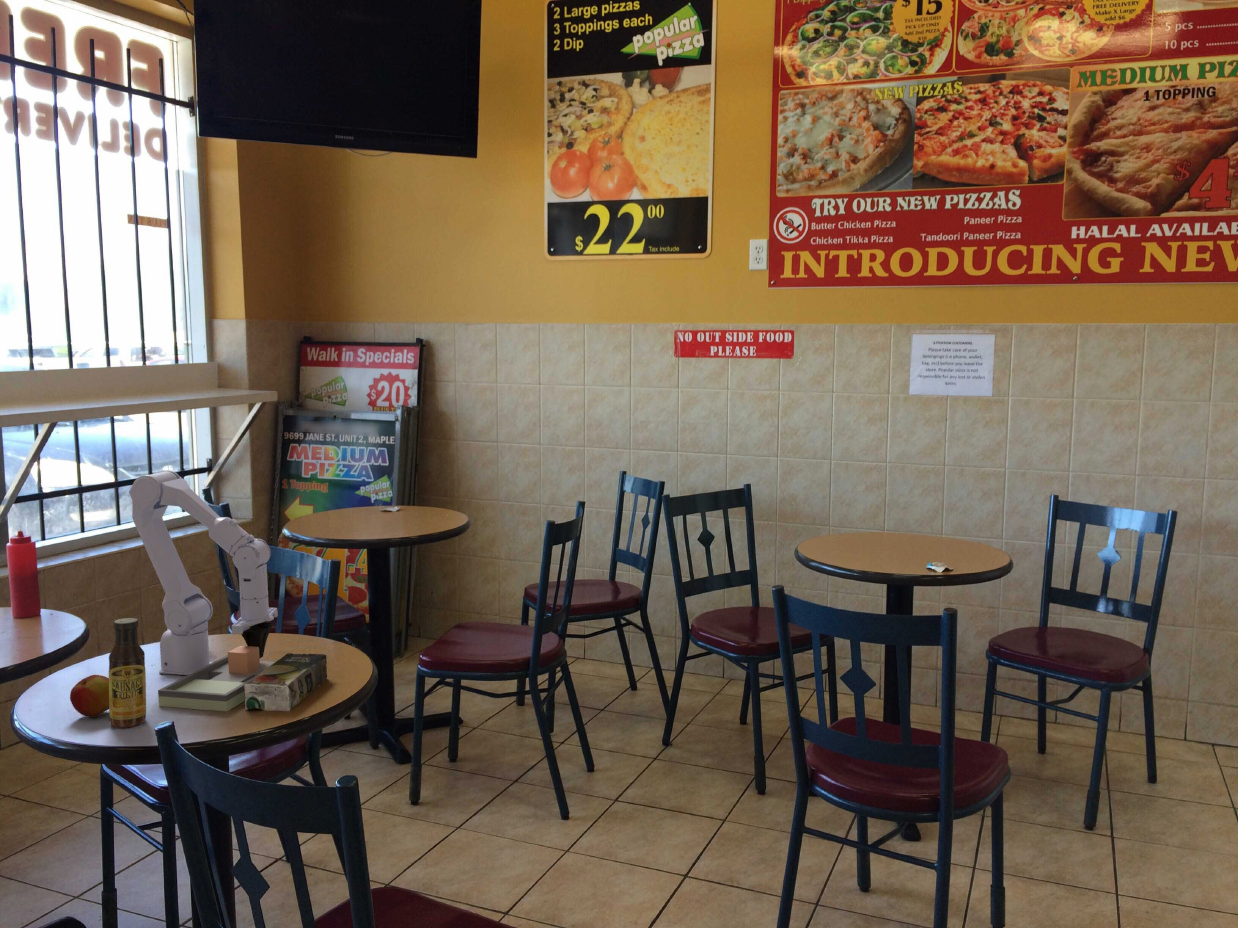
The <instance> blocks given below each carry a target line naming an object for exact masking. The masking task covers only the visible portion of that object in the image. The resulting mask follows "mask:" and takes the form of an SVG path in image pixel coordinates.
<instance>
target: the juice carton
mask: <svg viewBox="0 0 1238 928" xmlns="http://www.w3.org/2000/svg"><path fill="white" fill-rule="evenodd" d="M274 662H275V663H274V664H272V665H271V666H270V667H268V668H267V669H266V670H264V671H263V672H262V673H260V674H259V675H257V676H256V677H255V678H253V679H252V680H250V681H249V682H248V683H246V684H245V685H244V688H245V697H246V699H245V701H244V705H245V706H244V707H245V710H246V711H249V710H255V709H258V710H260V711H261V710H262V711H265V712H267V711H269V712H271V711H272V712H275V711H276V712H277V711H278V712H291V711H292V709H294V708H295V707H296V706H298V705H300V703H301V702H302V701H304V700H305V698H307V697H308V696H309V695H310V694H311V692H312V693H313V692H314V691H315V690H316V689H318V688H319V687H320V686H322V684H324V683H325V682H326V681H327V680H328V670H327V669H328V667H327V655H326V654H323V653H307V654H306V653H291V652H288V653H286V654H284V655H283V656H282V657H281V658H280V659H278V660H276V661H274ZM324 681H325V682H324ZM319 685H320V686H319ZM317 687H318V688H317ZM306 696H307V697H306Z"/></svg>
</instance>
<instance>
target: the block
mask: <svg viewBox="0 0 1238 928" xmlns="http://www.w3.org/2000/svg"><path fill="white" fill-rule="evenodd" d="M227 655H228V667H229V673H240V674H249V673H251V672H253V671H254V670H256V669H258V668H260V661H261V658H259V647H251V646H247V645H239V646H237V647H235V648H232V649H231V650H229V651H227Z"/></svg>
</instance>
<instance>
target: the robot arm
mask: <svg viewBox="0 0 1238 928" xmlns="http://www.w3.org/2000/svg"><path fill="white" fill-rule="evenodd" d="M128 494H129V496H130V498H131V500H132V501H131V502H132V504H131V505H132V506H131V507H132V508H131V509H132V510H131V511H132V512H131V513H132V520H133V523H134V525H135V527H136V531H137V532H138V534H139V536H140V539H141V542H142V543H143V546H144V549H145V550H146V553H147V555H148V557H149V559H150V562H151V564H152V566H153V569H154V571H155V573H156V576H157V577H158V580H159V581H160V584H161V587H162V588H163V589H162V590H163V591H164V597H163V601H162V603H161V608H162V609H163V612H164V617H163V618H164V620H163V621H164V623H165V627H166V628H168V629H169V630H168V629H167V630H165V631H164V632H163V634H162V635H161V638H160V642H159V652H160V655H159V656H160V669H161V670H160V669H159V671H158V673H159V674H166V675H180V676H187V675H189V674H191V673H193V672H195V671H197V670H199V669H201V668H203V667H205V666H207V665H209V664H211V663H213V662H214V661H210V646H209V630H208V628H209V623H208V622H209V620H210V619H211V618H212V615H213V613H214V609H213V605H212V602H211V601H210V600H209V599H208V598H207V597H206V596H205V595H204V594H203V592H202V590H201V588H200V587H198V586H197V585H195V584H193V583H192V582H191V580H190V578H189V576H188V574H187V573H188V572H187V571H186V569H185V566H184V564H183V562H182V560H181V558H180V555H179V553H178V551H177V549H176V546H175V543H174V542H173V538H172V537H171V535H170V533H169V531H168V527H167V525H166V523H165V521H164V519H163V517H164V515H165V512H166V511H167V509H168V508H169V506H170V507H179V508H180V509H182V510H183V511H184V512H186V514H188V515H190V516H191V517H192V518H193V519H195V520H196V521H197V522H199V523H201V524H202V525H203V526H204V527H205V528H207V530H208V537H209V538H210V539H211V540H212V541H213V542H215V544H216V545H218V546H219V547H220V548H221V549H223V550H224V551H225V552H226V553H227V554H229V556H231V557H232V563H233V565H234V567H236V569H237V571H238V580H239V581H238V583H239V604H240V605H239V606H240V617H239V618H238V619H237V620H236V622H234V623H233V624H232V625H231V634H232V635H238V636H239V635H240V636H241V637H242V638H243V639H244V642H245V644H246V646H251V647H259V658H260V659H262V658H263V657H264V653H265V649H266V644H267V640H268V637H269V634H270V632H271V631H272V629H273V623H272V622H271V621H273V620H274V618H277V617H278V613H279V612H278V607H269V590H268V587H269V586H268V585H269V584H268V570H267V569H268V567H267V566H268V565H267V562H269V560H270V558H271V556H272V554H271V553H272V551H271V548H270V546H269V545H268V543H267V542H266V540H264V539H262V538H255V536H254V535H253V534H249V533H248V532H247V531H246V530H244V528H242V527H241V526H240V525H239V524H238V523H239V522H238V520H237V519H236V518H231V517H228V516H225V517H224V516H223V517H221V516H220V515H219V514H218V513H216V511H215V510H214V509H212V508H211V507H210V505H208V503H206V502H205V501H204V500H203V499H202V498H201V497H200V496H199V495H198V494H197V493H196V492H195V491H194V490H193V489H191V487H190V485H189V483H188V481H187V480H186V479H184V478H182V477H181V476H180V475H179V474H178V473H177V472H176V471H173V470H169V469H168V470H167V469H166V470H163V471H160V472H156V473H151V474H144V475H143V474H142V475H140V476H139V477H136V479H135V480H134V481H133V483H132V485H131V486H130V490H129V491H128Z"/></svg>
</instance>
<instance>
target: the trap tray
mask: <svg viewBox="0 0 1238 928" xmlns="http://www.w3.org/2000/svg"><path fill="white" fill-rule="evenodd" d="M212 662H213V663H211V664H209V665H207V666H205V667H203V668H201V669H199V670H197V671H195V672H193V673H191V674H189V675H184V676H183V677H181V678H179V679H177V680H176V681H173V682H171V683H170V684H167V685H166V686H163V687H162V688H160V689H158V690H157V694H158V695H157V697H158V698H157V699H158V707H166V708H167V707H168V708H179V709H192V710H193V709H194V710H202V711H203V710H204V711H205V710H206V711H216V712H229V711H230V710H232V709H234V708H235V707H236V706H238V705H240V704H241V703H243V702H245V699H246V697H245V688H244V685H245V684H246V683H248V682H249V681H250V680H252V679H253V678H255V677H256V676H257V675H259V674H260V673H262V672H263V671H264V670H266V669H267V668H268V667H270V666H271V665H272V664H274V663H275V662H276V661H268V660H267V661H266V660H260V668H258V669H256V670H254V671H253V672H251V673H249V674H240V673H229V667H228V654H226V655H223V657H220V658H219V659H217V660H215V661H212Z"/></svg>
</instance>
